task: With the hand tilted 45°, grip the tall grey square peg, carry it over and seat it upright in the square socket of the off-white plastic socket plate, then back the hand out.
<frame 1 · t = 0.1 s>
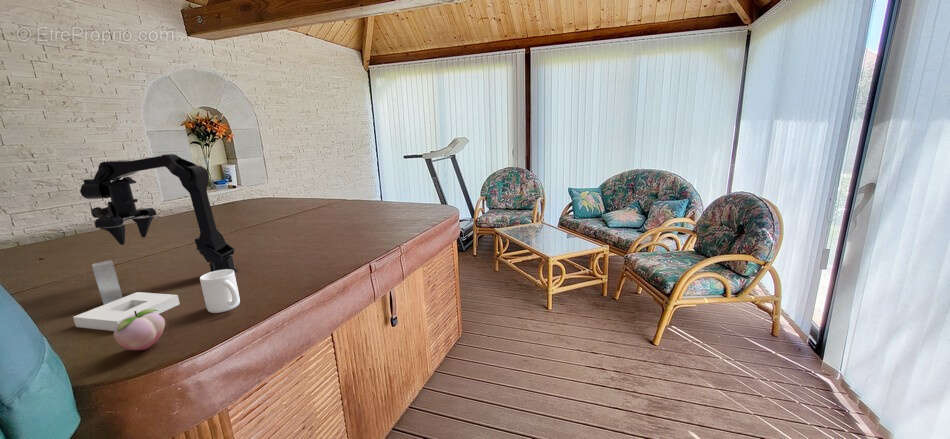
hand: (133, 240, 131), 15 cm above the table, tool pointing down, fingers open, 9 cm apart
grey square peg: (113, 302, 115), on the table
decorative fruit: (144, 350, 88), on the table
mug: (227, 308, 108), on the table
socket plate: (130, 314, 106), on the table
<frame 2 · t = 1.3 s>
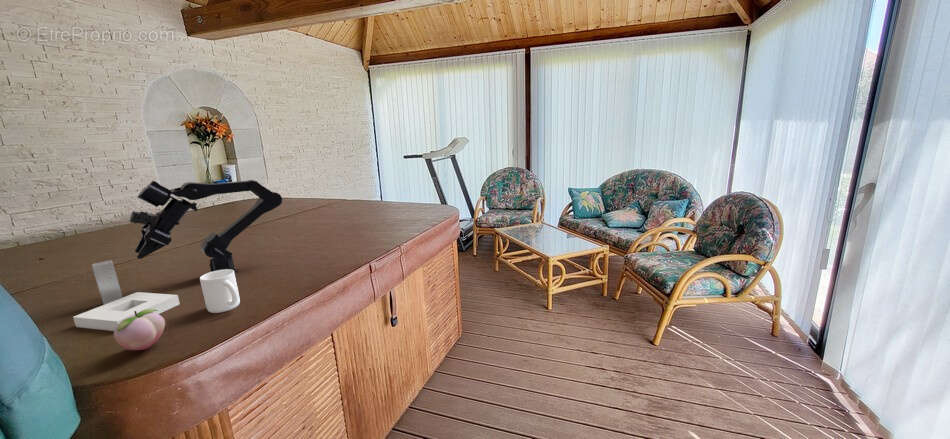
hand: (137, 255, 118), 13 cm above the table, tool tilted 45°, fingers open, 9 cm apart
nothing on the table moved.
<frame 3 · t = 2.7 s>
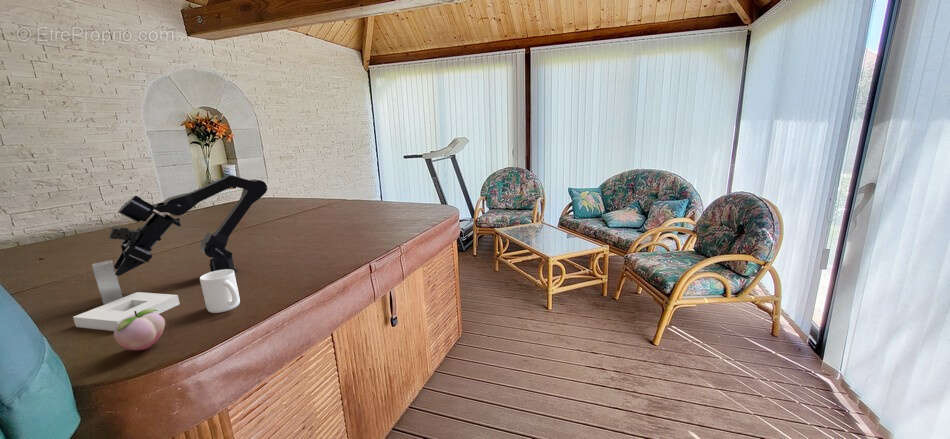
hand: (115, 271, 115), 10 cm above the table, tool tilted 45°, fingers open, 9 cm apart
nothing on the table moved.
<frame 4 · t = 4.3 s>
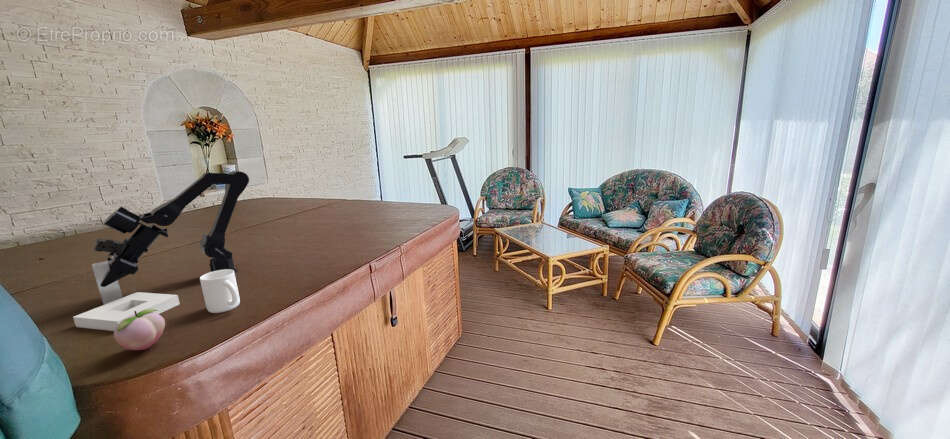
hand: (101, 284, 113), 7 cm above the table, tool tilted 45°, fingers closed on grey square peg, 4 cm apart
grey square peg: (113, 302, 115), on the table, touching gripper
everything else where it was.
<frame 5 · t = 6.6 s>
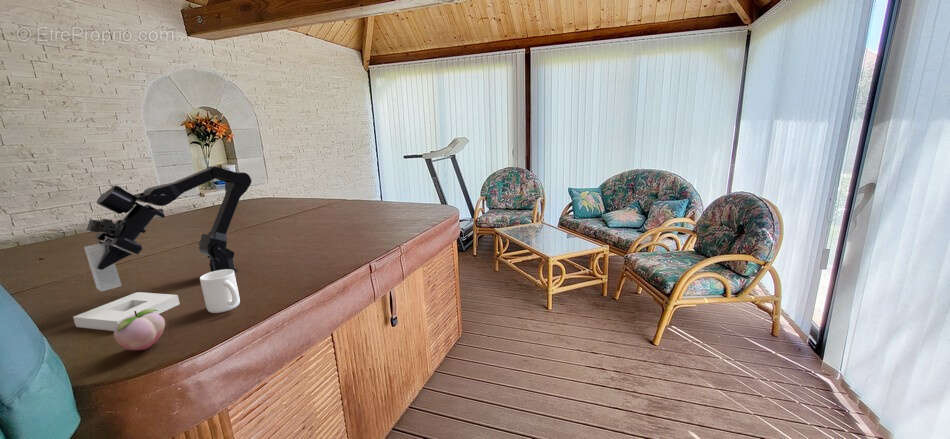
hand: (96, 267, 107), 13 cm above the table, tool tilted 45°, fingers closed on grey square peg, 4 cm apart
grey square peg: (109, 287, 109), point 7 cm above the table, touching gripper
everything else where it was.
when the fingers open (8 cm above the table, at t = 9.1 s): grey square peg drops 1 cm, resting on socket plate.
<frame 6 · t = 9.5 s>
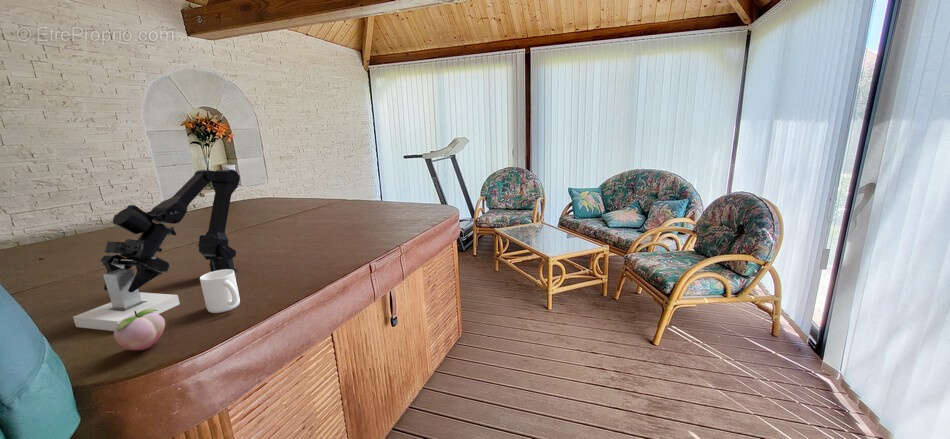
hand: (117, 291, 103), 8 cm above the table, tool tilted 45°, fingers open, 9 cm apart
grey square peg: (130, 314, 106), resting on socket plate
everything else where it was.
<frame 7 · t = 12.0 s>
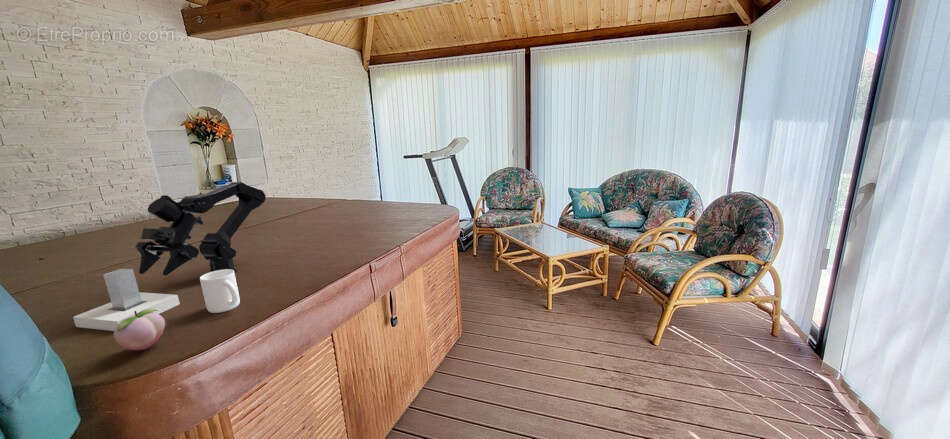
hand: (152, 274, 112), 9 cm above the table, tool tilted 45°, fingers open, 9 cm apart
nothing on the table moved.
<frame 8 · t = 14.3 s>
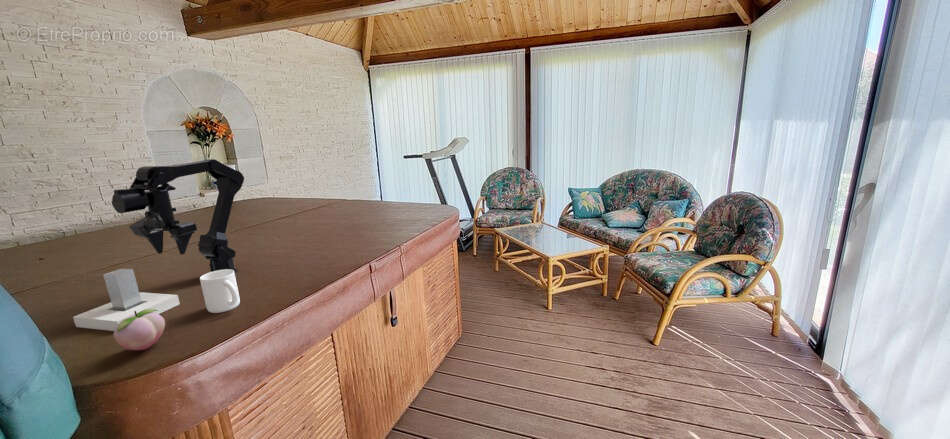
hand: (171, 253, 119), 13 cm above the table, tool pointing down, fingers open, 9 cm apart
nothing on the table moved.
at the end: grey square peg 0.0 cm off-centre on the socket plate, point 0.3 cm above the socket plate's base; grey square peg tilted 0°; the gripper is holding nothing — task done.
